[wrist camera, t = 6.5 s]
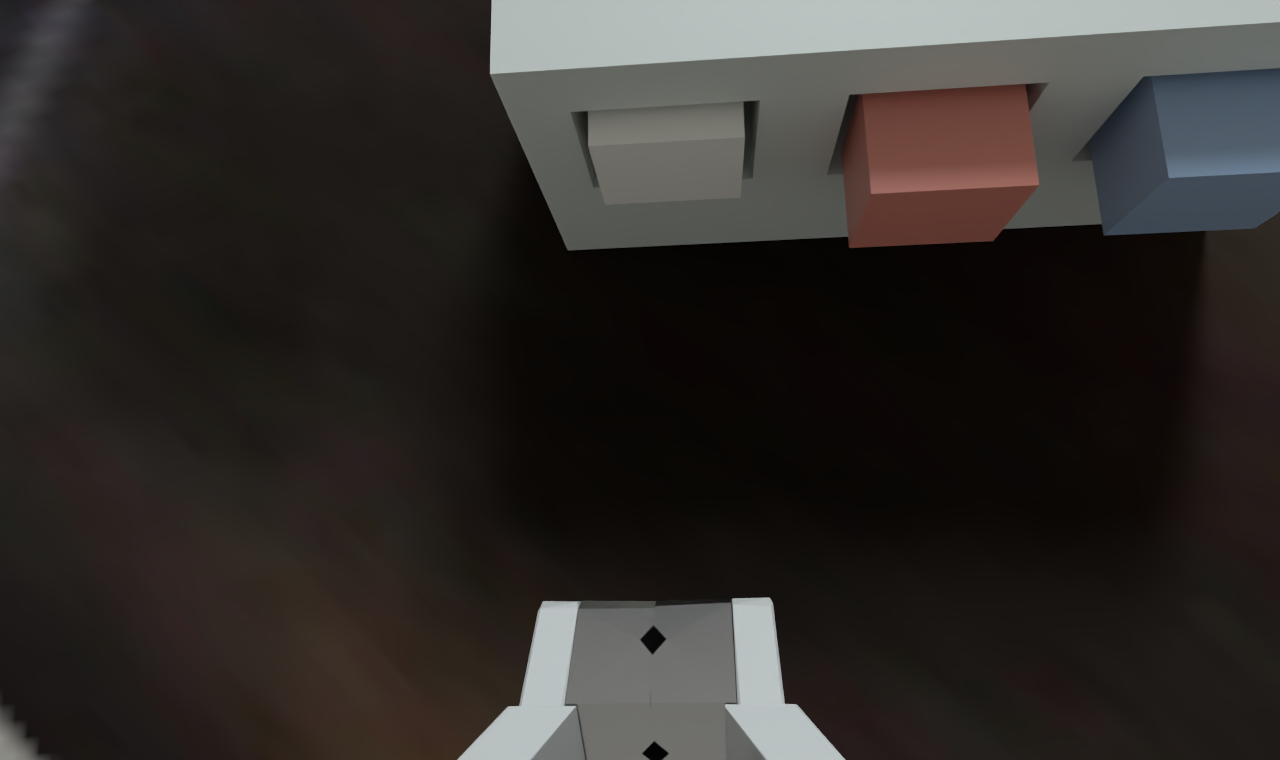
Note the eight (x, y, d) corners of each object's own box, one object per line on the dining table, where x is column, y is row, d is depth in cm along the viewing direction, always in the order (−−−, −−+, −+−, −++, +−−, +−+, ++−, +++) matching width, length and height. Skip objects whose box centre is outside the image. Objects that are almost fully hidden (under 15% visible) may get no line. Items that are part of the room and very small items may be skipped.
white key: (605, 205, 25) (588, 146, 22) (604, 113, 26) (587, 43, 22) (740, 197, 25) (745, 137, 21) (736, 105, 26) (739, 33, 22)
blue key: (1103, 235, 24) (1168, 178, 20) (1088, 138, 24) (1149, 66, 21) (1254, 228, 23) (1346, 168, 20) (1234, 129, 24) (1320, 55, 21)
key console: (567, 250, 31) (489, 73, 20) (568, 8, 33) (498, -266, 22) (1207, 219, 29) (1496, 7, 18) (1160, -34, 31) (1392, -353, 21)
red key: (849, 248, 24) (871, 193, 21) (841, 152, 25) (861, 84, 22) (993, 240, 24) (1039, 184, 21) (981, 144, 25) (1024, 74, 21)
